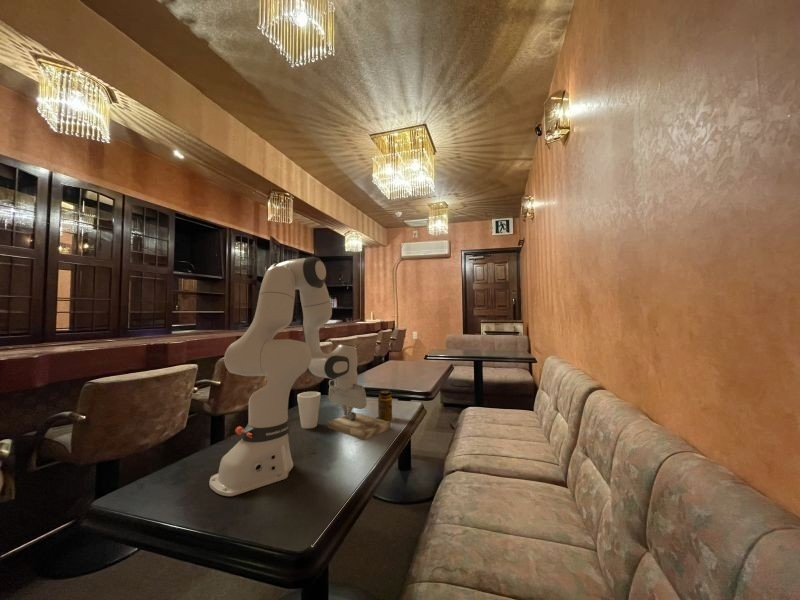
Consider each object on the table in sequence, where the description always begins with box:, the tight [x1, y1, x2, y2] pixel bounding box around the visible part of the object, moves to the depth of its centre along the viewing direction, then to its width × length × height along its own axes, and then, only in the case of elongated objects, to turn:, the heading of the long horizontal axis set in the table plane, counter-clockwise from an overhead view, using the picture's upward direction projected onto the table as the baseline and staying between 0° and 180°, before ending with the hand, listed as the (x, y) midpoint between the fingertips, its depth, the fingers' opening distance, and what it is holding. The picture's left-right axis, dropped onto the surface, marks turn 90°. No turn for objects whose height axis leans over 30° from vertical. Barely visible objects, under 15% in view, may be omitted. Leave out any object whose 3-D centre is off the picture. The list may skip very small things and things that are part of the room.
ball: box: [348, 411, 356, 420], centre depth 136 cm, size 3×3×3 cm
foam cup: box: [296, 391, 322, 430], centre depth 137 cm, size 10×9×13 cm
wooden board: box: [327, 412, 392, 441], centre depth 133 cm, size 15×21×2 cm
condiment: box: [376, 390, 396, 422], centre depth 144 cm, size 7×8×12 cm
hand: (347, 415), depth 138 cm, fingers closed
